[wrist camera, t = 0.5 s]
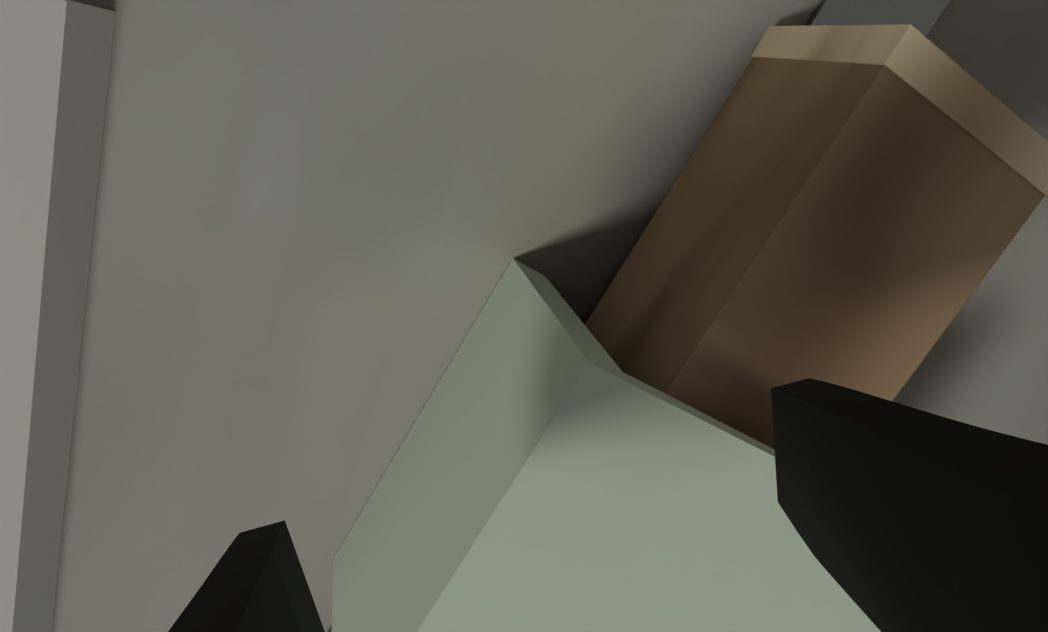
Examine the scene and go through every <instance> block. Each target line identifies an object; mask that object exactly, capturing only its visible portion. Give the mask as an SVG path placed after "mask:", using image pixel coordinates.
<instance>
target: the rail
mask: <svg viewBox="0 0 1048 632" xmlns="http://www.w3.org/2000/svg"><path fill="white" fill-rule="evenodd" d="M949 2H950V0H822V1H821V3H820V5H819V6H818V8H817V9H816V11H815V12H814V14H813V16H812V17H811V19H810V20H809V22H808V23H807V25H806V26H820V25H908V24H911V25H912V26H913V27H915V28H916V29H917V30H918V31H919V32H920V33H922V34H923V35H924V36H925V37H926V36H927V34H928V33H929V31H930V30H931V28H932V27H933V25H934V24H935V22H936V21H937V20H938V18H939V17H940V15H941V14H942V12H943V11H944V9H945V8H946V6H947V5H948V3H949Z"/></svg>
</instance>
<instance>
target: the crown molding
mask: <svg viewBox="0 0 1048 632" xmlns="http://www.w3.org/2000/svg"><path fill="white" fill-rule="evenodd" d="M114 22H115V11H111V10H107V9H103V8H99V7H96V6H92V5H88V4H84V3H81V2H77V1H73V0H0V632H52V623H53V614H54V604H55V594H56V585H57V575H58V565H59V555H60V546H61V536H62V526H63V517H64V507H65V497H66V487H67V478H68V468H69V458H70V449H71V439H72V429H73V420H74V410H75V400H76V390H77V381H78V371H79V361H80V352H81V342H82V332H83V323H84V313H85V303H86V293H87V284H88V274H89V264H90V255H91V245H92V235H93V225H94V216H95V206H96V196H97V187H98V177H99V167H100V158H101V148H102V138H103V128H104V119H105V109H106V99H107V90H108V80H109V70H110V61H111V51H112V41H113V31H114Z"/></svg>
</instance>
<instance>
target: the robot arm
mask: <svg viewBox="0 0 1048 632" xmlns="http://www.w3.org/2000/svg"><path fill="white" fill-rule="evenodd" d="M771 400H772V416H773V433H774V449H775V466H776V482H777V499H778V503H779V505H780V506H781V508H782V509H783V511H784V512H785V514H786V515H787V517H788V518H789V520H790V521H791V523H792V525H793V526H794V528H795V529H796V531H797V532H798V534H799V535H800V536H801V538H802V539H803V541H804V542H805V544H806V545H807V547H808V548H809V549H810V551H811V552H812V554H813V555H814V556H815V558H816V559H817V560H818V561H819V562H820V563H821V565H822V566H823V567H824V568H825V569H826V570H827V572H828V573H829V574H830V575H831V576H832V577H833V578H834V580H835V581H836V582H837V583H838V584H839V585H840V586H841V587H842V589H843V590H844V591H845V592H846V593H847V594H848V595H849V597H850V598H851V599H852V600H853V601H854V602H855V603H856V604H857V606H858V607H859V608H860V609H861V610H862V611H863V612H864V613H865V614H866V616H867V617H868V618H869V619H870V620H871V621H872V622H873V623H874V624H875V626H876V627H877V628H878V629H879V630H880V631H881V632H1048V445H1046V444H1042V443H1038V442H1034V441H1030V440H1026V439H1022V438H1018V437H1014V436H1010V435H1006V434H1002V433H999V432H995V431H991V430H987V429H983V428H980V427H976V426H972V425H969V424H965V423H962V422H958V421H955V420H951V419H948V418H945V417H941V416H938V415H935V414H931V413H928V412H925V411H921V410H918V409H915V408H912V407H908V406H905V405H902V404H899V403H895V402H892V401H889V400H886V399H882V398H879V397H876V396H873V395H870V394H866V393H863V392H860V391H856V390H853V389H850V388H846V387H843V386H839V385H836V384H832V383H828V382H824V381H820V380H815V379H811V378H807V379H803V380H800V381H796V382H792V383H789V384H785V385H781V386H778V387H774V388H771ZM169 632H325V631H324V629H323V626H322V623H321V620H320V618H319V615H318V612H317V609H316V606H315V604H314V601H313V598H312V595H311V592H310V590H309V587H308V584H307V581H306V579H305V576H304V573H303V570H302V567H301V565H300V562H299V559H298V556H297V553H296V551H295V548H294V545H293V542H292V540H291V537H290V534H289V531H288V528H287V526H286V523H285V521H282V522H278V523H274V524H271V525H267V526H263V527H259V528H256V529H252V530H248V531H245V532H241V533H239V535H238V536H237V537H236V538H235V540H234V541H233V542H232V544H231V545H230V546H229V548H228V549H227V551H226V552H225V553H224V555H223V556H222V558H221V559H220V560H219V562H218V563H217V565H216V566H215V568H214V569H213V570H212V572H211V573H210V575H209V576H208V578H207V579H206V580H205V582H204V583H203V585H202V586H201V587H200V589H199V590H198V592H197V593H196V595H195V596H194V597H193V599H192V600H191V601H190V603H189V604H188V606H187V607H186V608H185V610H184V611H183V612H182V614H181V615H180V616H179V618H178V619H177V621H176V622H175V623H174V625H173V626H172V627H171V629H170V630H169Z"/></svg>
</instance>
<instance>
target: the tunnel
mask: <svg viewBox="0 0 1048 632" xmlns="http://www.w3.org/2000/svg"><path fill="white" fill-rule="evenodd" d="M332 632H881V631H880V630H879V629H878V628H877V627H876V626H875V624H874V623H873V622H872V621H871V620H870V619H869V618H868V617H867V616H866V614H865V613H864V612H863V611H862V610H861V609H860V608H859V607H858V606H857V604H856V603H855V602H854V601H853V600H852V599H851V598H850V597H849V595H848V594H847V593H846V592H845V591H844V590H843V589H842V587H841V586H840V585H839V584H838V583H837V582H836V581H835V580H834V578H833V577H832V576H831V575H830V574H829V573H828V572H827V570H826V569H825V568H824V567H823V566H822V565H821V563H820V562H819V561H818V560H817V559H816V558H815V556H814V555H813V554H812V552H811V551H810V549H809V548H808V547H807V545H806V544H805V542H804V541H803V539H802V538H801V536H800V535H799V534H798V532H797V531H796V529H795V528H794V526H793V525H792V523H791V521H790V520H789V518H788V517H787V515H786V514H785V512H784V511H783V509H782V508H781V506H780V505H779V503H778V499H777V482H776V466H775V449H773V448H771V447H769V446H767V445H765V444H763V443H761V442H759V441H757V440H755V439H753V438H751V437H749V436H747V435H745V434H743V433H741V432H739V431H737V430H735V429H733V428H732V427H730V426H728V425H726V424H724V423H722V422H720V421H718V420H716V419H714V418H712V417H710V416H708V415H706V414H704V413H702V412H700V411H698V410H696V409H694V408H692V407H690V406H688V405H686V404H684V403H683V402H681V401H679V400H677V399H675V398H673V397H671V396H669V395H667V394H665V393H663V392H661V391H659V390H657V389H655V388H653V387H651V386H649V385H647V384H645V383H643V382H641V381H639V380H637V379H636V378H634V377H632V376H630V375H628V374H626V373H624V372H622V371H621V369H620V368H619V367H618V366H617V364H616V363H615V362H614V361H613V359H612V358H611V357H610V356H609V354H608V353H607V352H606V351H605V350H604V348H603V347H602V346H601V345H600V343H599V342H598V341H597V340H596V338H595V337H594V336H593V335H592V333H591V332H590V331H589V330H588V328H587V327H586V326H585V325H584V324H583V322H582V321H581V320H580V319H579V317H578V316H577V315H576V314H575V312H574V311H573V310H572V309H571V307H570V306H569V305H568V304H567V303H566V301H565V300H564V299H563V298H562V296H561V295H560V294H559V293H558V291H557V290H556V289H555V288H554V286H553V285H552V284H551V283H550V281H549V280H548V279H547V278H546V277H545V276H544V275H543V274H541V273H539V272H537V271H535V270H533V269H531V268H530V267H528V266H526V265H524V264H522V263H520V262H519V261H517V260H515V259H512V261H511V263H510V264H509V266H508V268H507V269H506V271H505V273H504V274H503V276H502V278H501V279H500V281H499V283H498V285H497V286H496V288H495V290H494V291H493V293H492V295H491V296H490V298H489V300H488V301H487V303H486V305H485V306H484V308H483V310H482V311H481V313H480V315H479V316H478V318H477V320H476V321H475V323H474V325H473V326H472V328H471V330H470V331H469V333H468V335H467V336H466V338H465V340H464V341H463V343H462V345H461V346H460V348H459V350H458V351H457V353H456V355H455V356H454V358H453V360H452V362H451V363H450V365H449V367H448V368H447V370H446V372H445V373H444V375H443V377H442V378H441V380H440V382H439V383H438V385H437V387H436V388H435V390H434V392H433V393H432V395H431V397H430V398H429V400H428V402H427V403H426V405H425V407H424V408H423V410H422V412H421V413H420V415H419V417H418V418H417V420H416V422H415V423H414V425H413V427H412V428H411V430H410V432H409V434H408V435H407V437H406V439H405V440H404V442H403V444H402V445H401V447H400V449H399V450H398V452H397V454H396V455H395V457H394V459H393V460H392V462H391V464H390V465H389V467H388V469H387V470H386V472H385V474H384V475H383V477H382V479H381V480H380V482H379V484H378V485H377V487H376V489H375V490H374V492H373V494H372V495H371V497H370V499H369V500H368V502H367V504H366V505H365V507H364V509H363V511H362V512H361V514H360V516H359V517H358V519H357V521H356V522H355V524H354V526H353V527H352V529H351V531H350V532H349V534H348V536H347V537H346V539H345V541H344V542H343V544H342V546H341V547H340V549H339V551H338V552H337V554H336V556H335V557H334V561H333V600H332Z"/></svg>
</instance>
